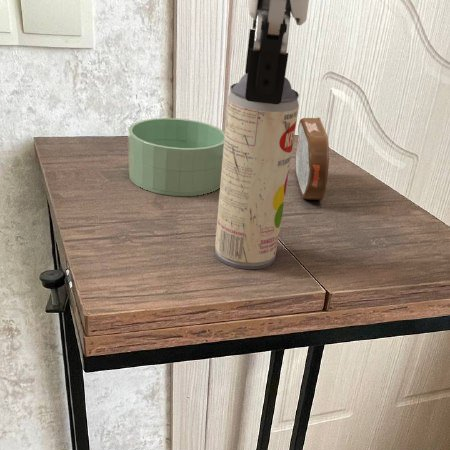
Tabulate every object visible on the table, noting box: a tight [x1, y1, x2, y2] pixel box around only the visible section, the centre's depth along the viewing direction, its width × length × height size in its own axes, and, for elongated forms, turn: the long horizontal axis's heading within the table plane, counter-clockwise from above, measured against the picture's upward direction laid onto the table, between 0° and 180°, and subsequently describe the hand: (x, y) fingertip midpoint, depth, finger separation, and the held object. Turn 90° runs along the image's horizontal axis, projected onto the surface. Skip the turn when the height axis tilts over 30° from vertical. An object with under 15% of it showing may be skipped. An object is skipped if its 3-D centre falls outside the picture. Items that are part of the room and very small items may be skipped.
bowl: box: [127, 117, 225, 197], centre depth 84 cm, size 13×13×6 cm
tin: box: [294, 116, 330, 201], centre depth 85 cm, size 15×3×8 cm, turn 0°
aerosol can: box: [214, 73, 300, 270], centre depth 64 cm, size 7×7×20 cm
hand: (261, 88), depth 59 cm, fingers open, 9 cm apart
